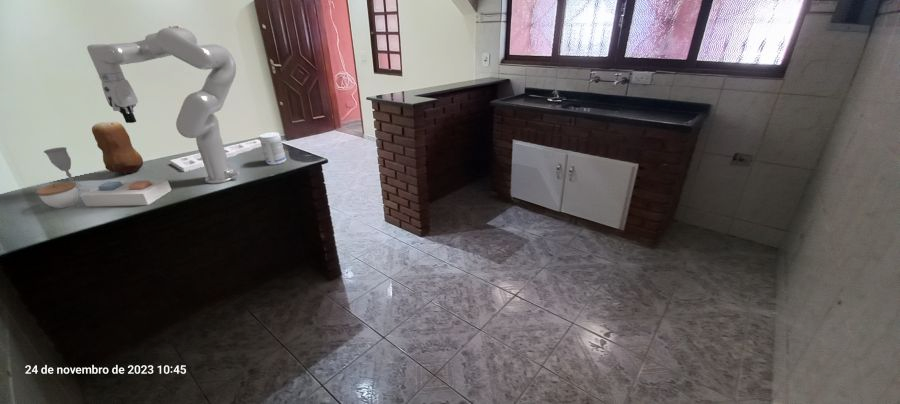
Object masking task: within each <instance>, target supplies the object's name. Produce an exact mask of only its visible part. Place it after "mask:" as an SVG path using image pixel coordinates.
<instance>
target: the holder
mask: <svg viewBox="0 0 900 404" xmlns="http://www.w3.org/2000/svg"><path fill="white" fill-rule="evenodd" d="M257 148H262V145H261V142H260V139H252V140H248V141H244V142H240V143H237V144H233V145H232V144H231V145H228V146H224V149H225V153H226V156H227V159H228V158H232V157H236V156H238V154H242V153H243V154H244V153H246V152H251V151H252V150H255V149H257ZM199 159H201V160H199ZM170 163H171V165H172V166H174V167H175V168H177V169H178V170H180V171H182V172H183V171H184V172H183V173H185V172H190V171H193V170H198V169H200V167H201V168H205V166H204V163H203V160H202V158H201V155H200V152H199V153H195V154H190V155H186V156H183V157H178V158H174V159H173V158H172V159H170ZM189 170H190V171H189Z"/></svg>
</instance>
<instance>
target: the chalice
mask: <svg viewBox="0 0 900 404" xmlns="http://www.w3.org/2000/svg"><path fill="white" fill-rule="evenodd" d="M43 153H44V154H45V155H46V156H47V157H48V159H49V161H50V163H51V164H52V165H53V166H55V167H56V168H58V169H59V170H60V171H61V172H65V175H66V176H67V177H68V180H69V181H70V182H73V183H75V185H76V188H77V190H78V191H79V189H80V190H82V188H83V189H84V188H85V186H83V185H82V184H81V183H80V182H75V180H74V177H72V174H71V173H70V172H69V170H71V167H72V162H71V161H72V160H71V157H70V154H69V153H68V151H67V147H65V146H64V147H61V146H60V147H53V148H47V149H46V150H44V151H43Z"/></svg>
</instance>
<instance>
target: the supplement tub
mask: <svg viewBox="0 0 900 404" xmlns="http://www.w3.org/2000/svg"><path fill="white" fill-rule="evenodd" d="M259 140H260V142H261V145H262V147H261V149H262V152H263V155H264V158H265V159H264V160H265V163H266V164H267V165H271V166H272V165H273V166H274V165H281V164H283V163H285V162H286V161H287V156H286V153H285V150H284V145H283V141H282V138H281V134H280V133H279V132H276V131H274V132H273V131H271V132H265V133H262V134H260V135H259Z"/></svg>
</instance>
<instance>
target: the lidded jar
mask: <svg viewBox="0 0 900 404" xmlns="http://www.w3.org/2000/svg"><path fill="white" fill-rule="evenodd" d="M36 194H37V195H38V197H39V198H40V200H41V201H42V202H43V203H44V204H46V205H48V206H50V207H52V208H55V209H64V208H68V207H71V206H74V205H75V204H76V203H77V201H78V199H79V196H80V195H79V194H80V193H79V190H77V188H76V185H75V183H73V182H71V181H70V182H69V181H67V182H58V183H56V182H53V183H51V184H50V185H45V186H44V187H41V188H39V189H37V190H36Z"/></svg>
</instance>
